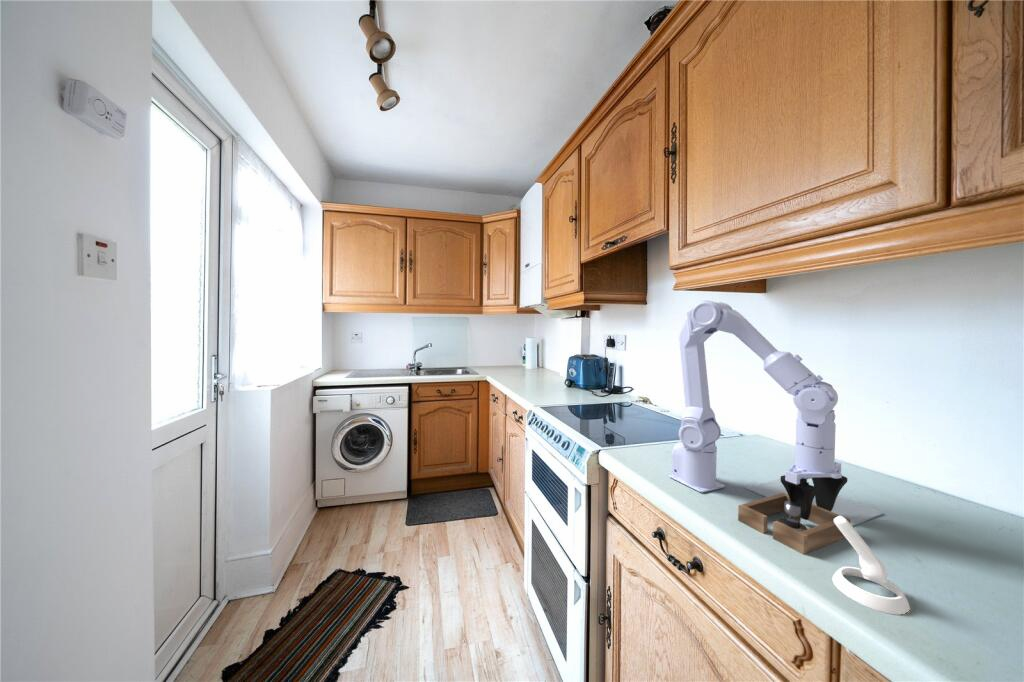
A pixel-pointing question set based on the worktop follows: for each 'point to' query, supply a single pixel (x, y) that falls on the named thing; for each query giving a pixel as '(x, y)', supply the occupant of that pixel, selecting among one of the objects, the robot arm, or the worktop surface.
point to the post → (792, 516)
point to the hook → (867, 576)
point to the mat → (840, 507)
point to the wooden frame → (799, 541)
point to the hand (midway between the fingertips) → (812, 513)
